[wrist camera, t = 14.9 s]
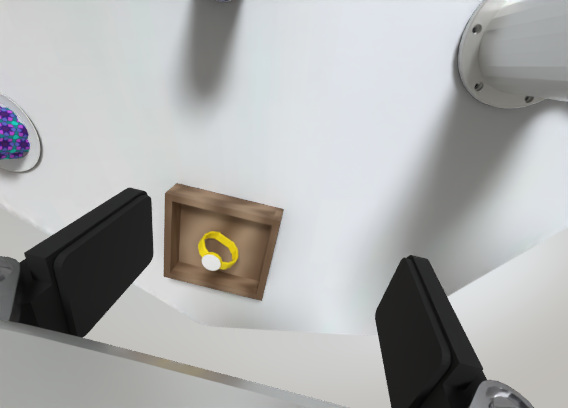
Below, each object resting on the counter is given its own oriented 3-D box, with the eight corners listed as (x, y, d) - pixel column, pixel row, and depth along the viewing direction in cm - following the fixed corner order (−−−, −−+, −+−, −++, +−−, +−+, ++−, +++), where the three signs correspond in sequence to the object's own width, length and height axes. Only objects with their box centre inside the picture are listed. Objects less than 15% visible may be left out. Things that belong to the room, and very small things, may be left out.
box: (283, 209, 41) (280, 221, 38) (265, 285, 47) (261, 300, 44) (176, 183, 41) (164, 193, 38) (173, 262, 48) (163, 276, 44)
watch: (205, 233, 44) (187, 255, 39) (214, 222, 43) (197, 242, 37) (235, 256, 45) (221, 280, 39) (245, 246, 44) (232, 269, 38)
